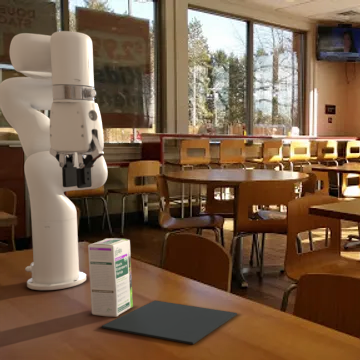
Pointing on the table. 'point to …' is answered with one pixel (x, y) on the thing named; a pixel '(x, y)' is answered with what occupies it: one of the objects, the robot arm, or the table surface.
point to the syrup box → (110, 277)
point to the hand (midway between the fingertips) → (77, 186)
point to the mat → (171, 321)
